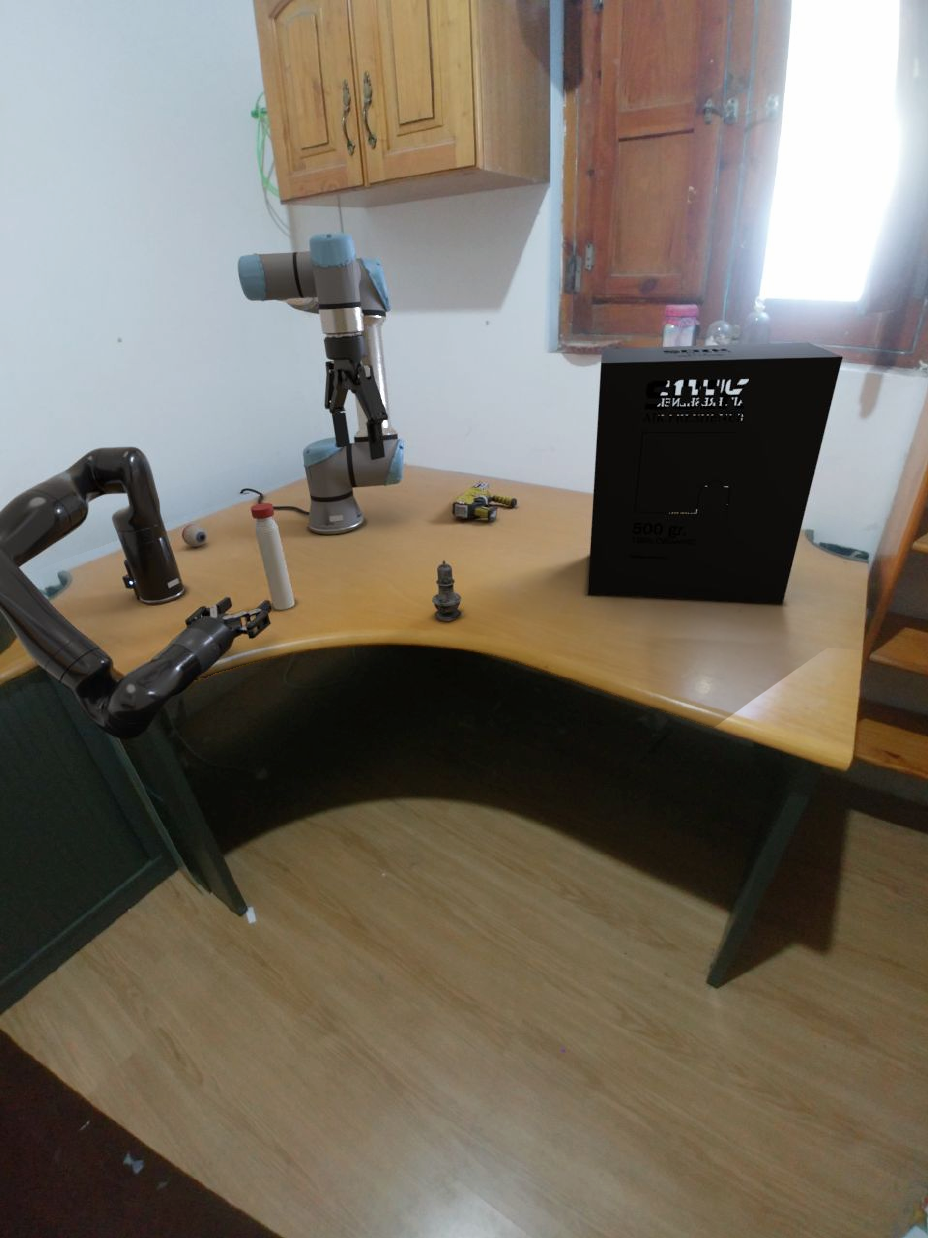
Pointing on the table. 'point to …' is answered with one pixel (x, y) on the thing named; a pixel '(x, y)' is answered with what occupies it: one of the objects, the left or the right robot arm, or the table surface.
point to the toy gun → (479, 503)
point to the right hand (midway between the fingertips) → (360, 452)
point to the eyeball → (194, 535)
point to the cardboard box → (705, 469)
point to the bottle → (274, 563)
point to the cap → (262, 510)
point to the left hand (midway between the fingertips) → (249, 602)
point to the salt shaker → (446, 595)
